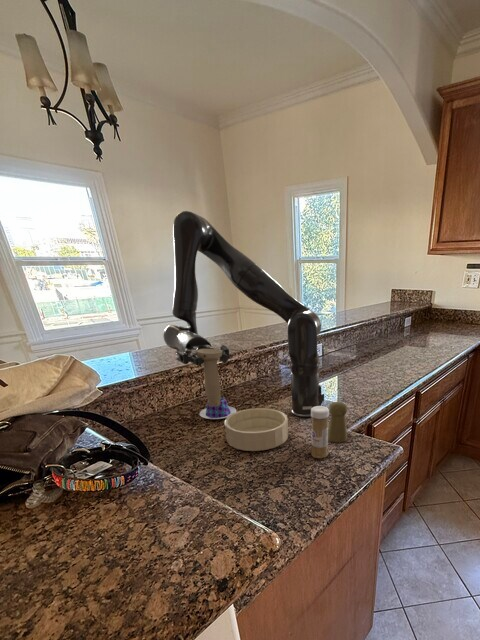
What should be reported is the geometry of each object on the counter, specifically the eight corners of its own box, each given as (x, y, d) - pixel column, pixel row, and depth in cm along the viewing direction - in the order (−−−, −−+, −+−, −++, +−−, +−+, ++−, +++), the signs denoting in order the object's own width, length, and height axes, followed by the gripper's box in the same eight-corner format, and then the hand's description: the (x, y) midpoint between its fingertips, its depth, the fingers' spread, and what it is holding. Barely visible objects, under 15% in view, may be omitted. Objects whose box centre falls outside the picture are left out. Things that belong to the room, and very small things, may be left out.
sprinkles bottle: (307, 455, 94) (307, 408, 89) (318, 449, 98) (319, 404, 92) (320, 461, 92) (320, 413, 86) (331, 454, 95) (332, 408, 89)
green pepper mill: (349, 435, 106) (351, 400, 101) (344, 443, 101) (345, 408, 96) (330, 432, 108) (331, 398, 103) (324, 440, 102) (324, 405, 98)
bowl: (272, 421, 114) (271, 404, 112) (298, 442, 101) (298, 423, 98) (218, 434, 105) (216, 415, 103) (240, 459, 92) (238, 438, 90)
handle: (220, 409, 95) (215, 354, 88) (199, 406, 96) (192, 351, 90) (229, 403, 99) (225, 350, 92) (208, 400, 100) (203, 348, 94)
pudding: (241, 408, 124) (239, 394, 122) (229, 422, 113) (227, 407, 111) (208, 406, 125) (206, 392, 123) (193, 420, 114) (191, 405, 112)
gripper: (166, 336, 98) (181, 348, 85) (217, 332, 105) (238, 343, 92) (171, 363, 101) (186, 378, 88) (220, 357, 108) (240, 370, 95)
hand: (212, 360), depth 90 cm, fingers closed on handle, 6 cm apart
